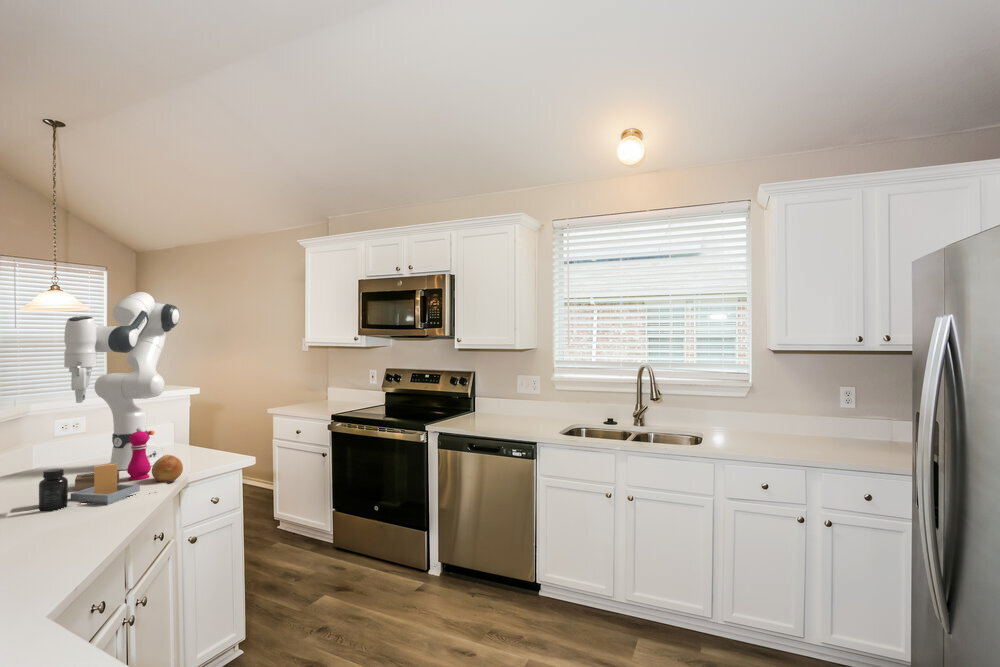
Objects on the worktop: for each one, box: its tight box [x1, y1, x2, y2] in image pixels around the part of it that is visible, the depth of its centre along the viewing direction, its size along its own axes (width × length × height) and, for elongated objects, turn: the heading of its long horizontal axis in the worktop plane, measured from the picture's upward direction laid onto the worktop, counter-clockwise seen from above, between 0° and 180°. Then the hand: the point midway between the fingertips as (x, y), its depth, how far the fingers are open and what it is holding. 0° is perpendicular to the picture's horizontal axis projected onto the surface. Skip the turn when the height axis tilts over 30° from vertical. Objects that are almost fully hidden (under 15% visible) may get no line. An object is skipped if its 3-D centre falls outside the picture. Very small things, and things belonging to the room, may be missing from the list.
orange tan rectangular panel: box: [93, 463, 117, 494], centre depth 172 cm, size 1×6×10 cm, turn 125°
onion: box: [151, 454, 184, 484], centre depth 191 cm, size 10×10×10 cm
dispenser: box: [74, 470, 120, 492], centre depth 183 cm, size 8×12×6 cm, turn 125°
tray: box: [70, 483, 141, 506], centre depth 172 cm, size 12×14×3 cm
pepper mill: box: [126, 427, 152, 482], centre depth 193 cm, size 7×7×20 cm
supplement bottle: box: [38, 467, 69, 512], centre depth 162 cm, size 7×7×12 cm
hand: (80, 401), depth 182 cm, fingers open, 8 cm apart
